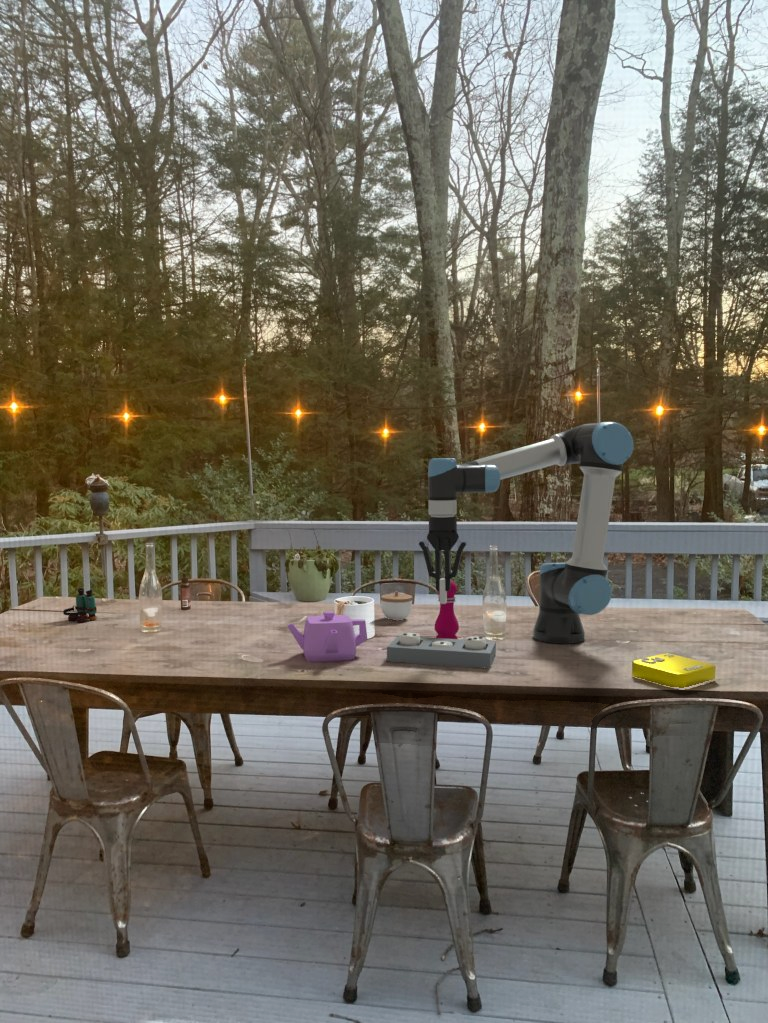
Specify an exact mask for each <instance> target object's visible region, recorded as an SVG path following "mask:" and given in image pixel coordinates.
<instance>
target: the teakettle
mask: <svg viewBox="0 0 768 1023" xmlns="http://www.w3.org/2000/svg"><path fill="white" fill-rule="evenodd" d="M335 613H336V612H335V611H332V610H327V611H323V612H322V615H308V616H306V619H305V622H304V623H305V624H304V628H303V633H302V632H301V630H300V629H298V628H297V626H295V624H294V623H288V624H287V625H286V626H287V628H288V630H289V631H290V633H291V634H292V636H293V637H294V639H295V641H296V642H297V644H298V645H299V646H300V648H301V650H302V651H303V654H304V657H305V660H306V661H307V662H308V663H309V662H311V663H312V662H313V663H319V662H320V663H322V662H324V663H325V662H328V661H329V662H341V661H342V660H345V661H352V659H353V660H355V658H356V654H357V647H358V646H360V645H361V644H362V643H364V642H366V641H368V632H367V625H366V619H363V618H362V619H351V617H350V616H349V615H348V614H335ZM354 626H359V629H358V630H359V632H358V634H357V635H355V630H354ZM342 662H343V661H342Z"/></svg>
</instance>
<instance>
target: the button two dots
mask: <svg viewBox="0 0 768 1023" xmlns="http://www.w3.org/2000/svg"><path fill="white" fill-rule="evenodd" d="M399 636H400V645H415V646H419V645H420V637H421V634H420V633H418V632H417V633H416V632H403V633H400V634H399Z"/></svg>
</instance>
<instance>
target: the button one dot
mask: <svg viewBox="0 0 768 1023" xmlns="http://www.w3.org/2000/svg"><path fill="white" fill-rule="evenodd" d="M432 647H448V648H452V647H453V644H452V643H451V642H448V641H435V642H432Z"/></svg>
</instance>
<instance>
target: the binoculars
mask: <svg viewBox="0 0 768 1023" xmlns="http://www.w3.org/2000/svg"><path fill="white" fill-rule="evenodd" d="M77 593H78V594H76V595H75V605H74V606H72V607H69V608H65V609H63V615H64V616H67V621H68V622H70V623H71V622H76V623H77V624H78V623H83V622H86V621H88V620H90V621H95V620H98V618H97V615H96V614H97V612H98V611H97V610H98V609H97V605H96V604H97V603H96V599H95V596H94V595H93V589H89V590H86V591H85V589H84V588H82V587H78V588H77Z"/></svg>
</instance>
